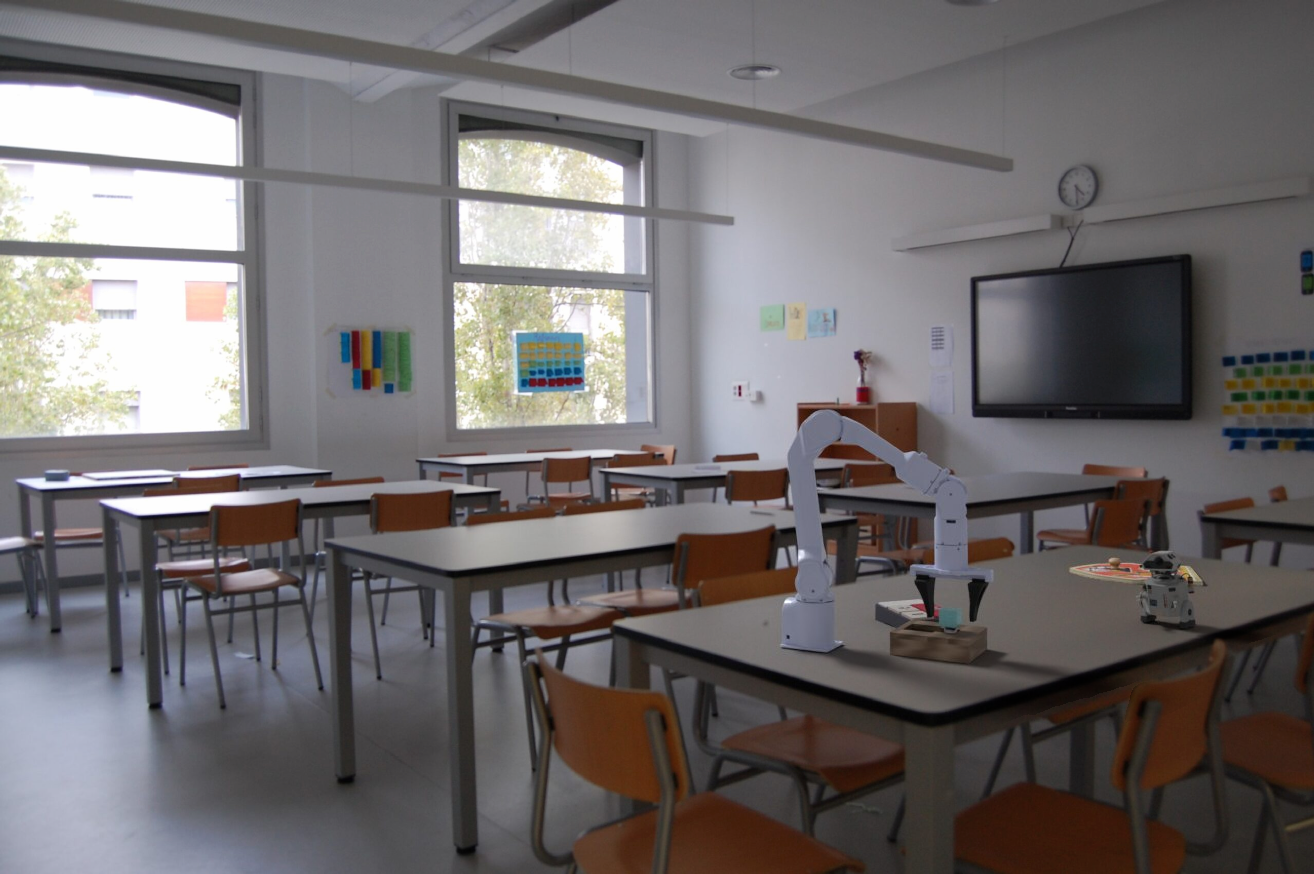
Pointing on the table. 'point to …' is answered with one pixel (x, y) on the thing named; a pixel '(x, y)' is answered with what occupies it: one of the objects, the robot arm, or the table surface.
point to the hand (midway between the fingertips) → (951, 618)
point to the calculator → (903, 612)
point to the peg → (950, 619)
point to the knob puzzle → (1127, 572)
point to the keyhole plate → (938, 641)
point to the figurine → (1166, 590)
